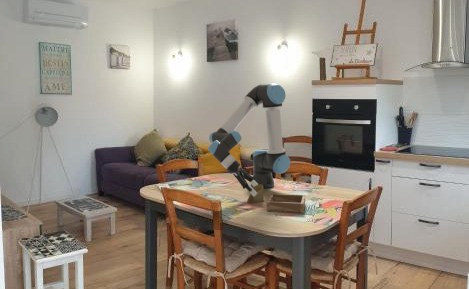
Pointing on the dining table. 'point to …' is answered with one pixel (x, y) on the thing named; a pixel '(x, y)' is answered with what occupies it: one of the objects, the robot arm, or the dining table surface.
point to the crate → (286, 203)
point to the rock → (259, 195)
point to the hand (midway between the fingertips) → (257, 192)
